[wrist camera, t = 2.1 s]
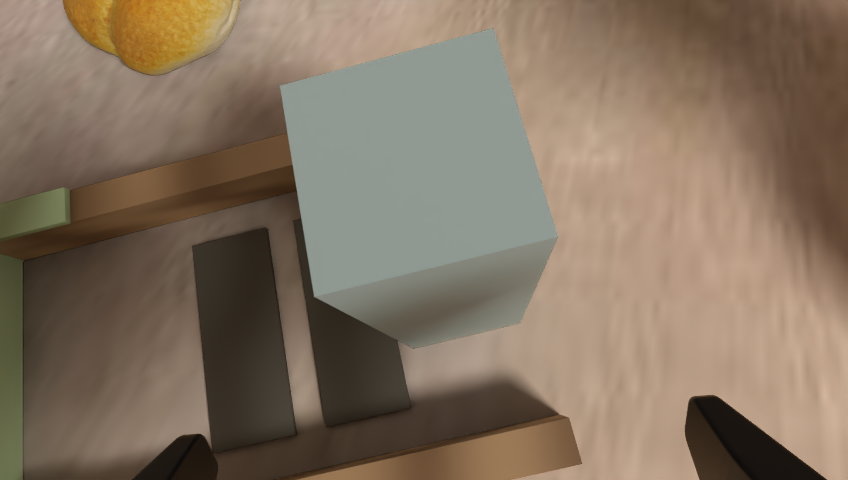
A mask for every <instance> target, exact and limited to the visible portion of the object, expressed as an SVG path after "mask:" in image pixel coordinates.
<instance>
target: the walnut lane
mask: <svg viewBox="0 0 848 480" xmlns="http://www.w3.org/2000/svg"><path fill="white" fill-rule="evenodd" d="M296 190H297V188H296V182H295V176H294V170H293V164H292V158H291V151H290V145H289V139H288V133H286V134H282V135H278V136H274V137H271V138H267V139H263V140H259V141H255V142H252V143H248V144H244V145H240V146H236V147H233V148H229V149H225V150H221V151H217V152H214V153H210V154H206V155H202V156H198V157H195V158H191V159H187V160H183V161H180V162H176V163H172V164H168V165H164V166H161V167H157V168H153V169H149V170H145V171H142V172H138V173H134V174H130V175H126V176H123V177H119V178H115V179H111V180H107V181H104V182H100V183H96V184H92V185H88V186H85V187H81V188H77V189H73V190H70V189H68V188H66V187H62V188H58V189H55V190H51V191H47V192H43V193H39V194H36V195H32V196H28V197H24V198H21V199H17V200H13V201H9V202H5V203H2V204H0V254H2V255H5V256H9V257H13V258H16V259H20V260H28V259H32V258H36V257H39V256H43V255H47V254H51V253H55V252H59V251H63V250H67V249H71V248H74V247H78V246H82V245H86V244H90V243H94V242H98V241H102V240H106V239H109V238H113V237H117V236H121V235H125V234H129V233H133V232H137V231H141V230H144V229H148V228H152V227H156V226H160V225H164V224H168V223H172V222H175V221H179V220H183V219H187V218H191V217H195V216H199V215H203V214H207V213H210V212H214V211H218V210H222V209H226V208H230V207H234V206H238V205H242V204H245V203H249V202H253V201H257V200H261V199H265V198H269V197H273V196H277V195H280V194H284V193H288V192H292V191H296ZM293 222H294V228H295V234H296V241H297V247H298V253H299V260H300V266H301V272H302V279H303V285H304V291H305V298H306V304H307V310H308V317H309V323H310V329H311V336H312V342H313V348H314V355H315V361H316V367H317V374H318V380H319V386H320V393H321V399H322V405H323V412H324V418H325V424H326V427H329V426H334V425H338V424H342V423H347V422H351V421H355V420H360V419H364V418H368V417H373V416H377V415H381V414H386V413H390V412H394V411H399V410H403V409H407V408H411V405H410V400H409V395H408V391H407V386H406V381H405V376H404V371H403V366H402V361H401V356H400V351H399V347H398V342H397V340H396V339H394V338H392V337H390V336H388V335H386V334H384V333H383V332H381V331H379V330H377V329H375V328H373V327H371V326H369V325H367V324H365V323H363V322H362V321H360V320H358V319H356V318H354V317H352V316H350V315H348V314H346V313H344V312H342V311H340V310H339V309H337V308H335V307H333V306H331V305H329V304H327V303H325V302H323V301H321V300H319V299H318V298H316V297H314V292H313V286H312V280H311V274H310V268H309V262H308V256H307V250H306V243H305V237H304V231H303V225H302V219H298V220H294V221H293ZM193 256H194V267H195V277H196V287H197V297H198V308H199V318H200V328H201V338H202V348H203V359H204V369H205V379H206V389H207V400H208V410H209V420H210V430H211V441H212V451H213V453H217V452H222V451H226V450H230V449H234V448H239V447H243V446H247V445H252V444H256V443H260V442H265V441H269V440H273V439H278V438H282V437H286V436H291V435H295V434H297V432H296V425H295V418H294V411H293V404H292V397H291V390H290V383H289V376H288V369H287V362H286V355H285V348H284V341H283V334H282V327H281V320H280V313H279V306H278V299H277V292H276V285H275V278H274V270H273V263H272V256H271V249H270V242H269V235H268V229H267V228H262V229H259V230H255V231H251V232H247V233H243V234H239V235H235V236H231V237H227V238H223V239H219V240H215V241H211V242H207V243H203V244H200V245H196V246H193ZM579 464H582V462H581V458H580V455H579V451H578V448H577V444H576V441H575V437H574V434H573V430H572V427H571V423H570V420H569V418H568V417H565V416H563V415H556V416H551V417H547V418H542V419H538V420H534V421H529V422H525V423H521V424H516V425H512V426H507V427H503V428H499V429H494V430H490V431H485V432H481V433H477V434H472V435H468V436H463V437H459V438H455V439H450V440H446V441H441V442H437V443H433V444H428V445H424V446H419V447H415V448H411V449H406V450H402V451H397V452H393V453H389V454H384V455H380V456H375V457H371V458H367V459H362V460H358V461H353V462H349V463H345V464H340V465H336V466H331V467H327V468H323V469H318V470H314V471H309V472H305V473H301V474H296V475H292V476H287V477H283V478H279V479H274V480H512V479H516V478H521V477H525V476H530V475H534V474H539V473H543V472H548V471H552V470H557V469H561V468H566V467H570V466H575V465H579Z"/></svg>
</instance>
